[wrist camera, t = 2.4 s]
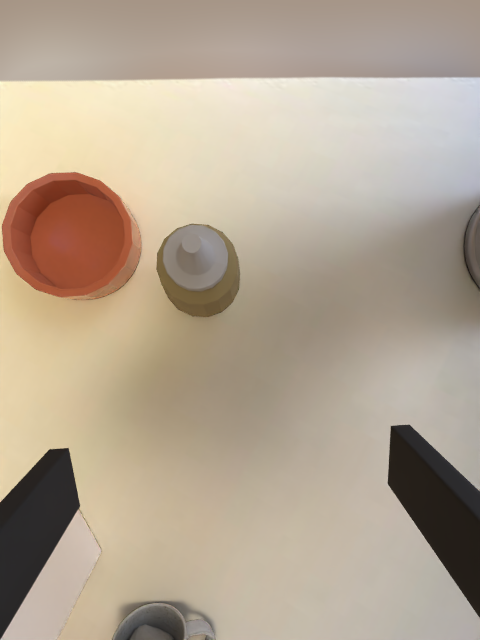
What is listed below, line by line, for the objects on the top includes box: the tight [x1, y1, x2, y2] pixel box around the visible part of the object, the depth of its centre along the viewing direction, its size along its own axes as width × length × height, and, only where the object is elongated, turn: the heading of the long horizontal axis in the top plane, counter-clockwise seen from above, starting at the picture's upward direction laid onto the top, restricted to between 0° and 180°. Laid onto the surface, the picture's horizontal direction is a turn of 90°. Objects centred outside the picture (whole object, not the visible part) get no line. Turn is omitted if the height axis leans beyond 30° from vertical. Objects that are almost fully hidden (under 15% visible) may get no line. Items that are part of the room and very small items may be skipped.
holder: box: [2, 172, 141, 300], centre depth 33 cm, size 13×13×4 cm
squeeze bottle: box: [157, 224, 240, 317], centre depth 27 cm, size 8×8×18 cm
